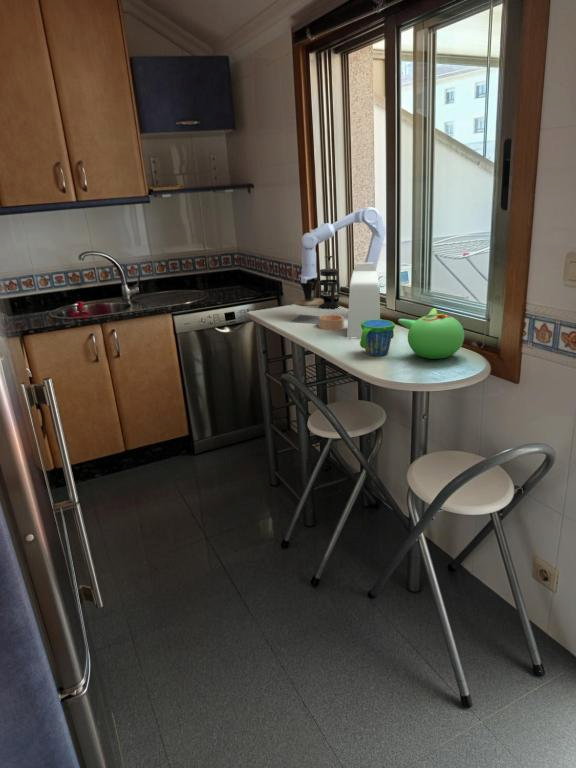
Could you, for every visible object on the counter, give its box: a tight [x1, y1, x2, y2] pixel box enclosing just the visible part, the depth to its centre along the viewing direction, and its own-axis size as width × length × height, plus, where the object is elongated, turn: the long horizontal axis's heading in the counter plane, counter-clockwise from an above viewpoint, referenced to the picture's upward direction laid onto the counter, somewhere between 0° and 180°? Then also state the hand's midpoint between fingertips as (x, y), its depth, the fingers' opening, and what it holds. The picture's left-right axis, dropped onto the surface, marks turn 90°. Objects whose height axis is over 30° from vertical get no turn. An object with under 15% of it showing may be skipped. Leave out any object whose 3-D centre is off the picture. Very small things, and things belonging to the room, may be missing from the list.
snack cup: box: [359, 318, 396, 357], centre depth 176 cm, size 16×10×10 cm
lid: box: [294, 290, 324, 307], centre depth 220 cm, size 12×12×5 cm
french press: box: [314, 255, 340, 310], centre depth 242 cm, size 12×9×23 cm
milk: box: [346, 262, 381, 338], centre depth 197 cm, size 12×12×26 cm
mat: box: [289, 314, 321, 325], centre depth 223 cm, size 13×13×1 cm
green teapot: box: [397, 307, 465, 360], centre depth 170 cm, size 18×17×15 cm
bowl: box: [318, 314, 345, 331], centre depth 210 cm, size 10×10×4 cm
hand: (309, 298), depth 220 cm, fingers closed on lid, 3 cm apart
